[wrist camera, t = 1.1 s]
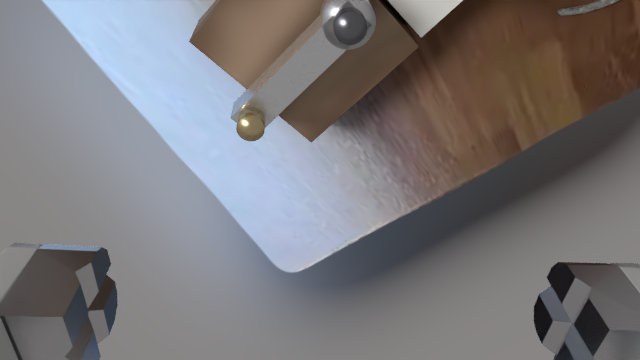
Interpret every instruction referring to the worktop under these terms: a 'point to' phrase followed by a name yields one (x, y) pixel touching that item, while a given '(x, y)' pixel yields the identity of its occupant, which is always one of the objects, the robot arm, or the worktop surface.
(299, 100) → the jamb block
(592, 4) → the pliers
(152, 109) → the worktop surface
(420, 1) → the door panel
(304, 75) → the lock bar
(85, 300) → the robot arm
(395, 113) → the worktop surface
